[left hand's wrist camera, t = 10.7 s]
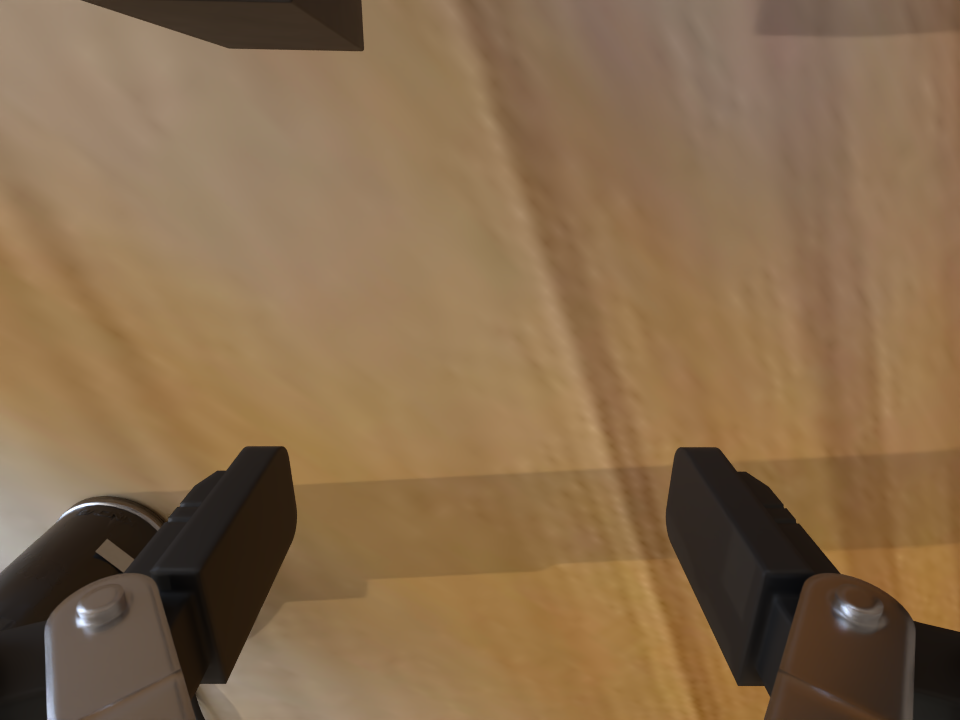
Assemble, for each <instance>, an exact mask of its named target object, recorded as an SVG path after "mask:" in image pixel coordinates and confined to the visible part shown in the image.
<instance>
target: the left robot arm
mask: <svg viewBox="0 0 960 720" xmlns="http://www.w3.org/2000/svg"><path fill="white" fill-rule="evenodd" d="M296 523H297V508H296V501H295V495H294V488H293V481H292V475H291V468H290V461H289V456H288V452H287V450H286V448H285V447H283V446H247V447H245V448H244V449H243V450H242V451H241V452H240V453H239V455H238V456H237V457H236V459H235V460H234V461H233V463H232V464H231V465H230V467H229V468H228V469H227V470H226V471H216V472H215V473H213V474H212V475H210V476H209V477H207V478H206V479H204V480H203V481H201V482H200V483H198V484H197V485H195V486H194V487H193V489H192V490H191V491H190V492H189V493H188V495H187V496H186V497H185V498H184V500H183V501H182V502H181V503H180V507H177V508H176V509H175V511H174V512H173V513H172V514H171V515H170V517H169V518H168V522H164V521H163V520H162V519H161V518H160V517H158V516H157V515H156V514H155V513H153V512H152V511H151V510H149V509H147V508H146V507H144V506H142V505H140V504H138V503H135V502H133V501H130V500H127V499H123V498H118V497H110V496H101V497H92V498H88V499H85V500H82V501H80V502H78V503H76V504H75V505H73V506H72V507H71V508H70V509H69V510H68V511H66V512H65V513H64V514H63V515H62V516H61V517H60V518H59V519H58V521H57V522H56V523H55V524H54V525H53V526H52V527H51V528H50V529H49V530H48V531H47V532H45V533H44V534H43V535H42V536H41V537H40V538H39V539H37V540H36V541H35V542H34V543H33V544H32V545H31V546H30V547H28V548H27V549H26V550H25V551H24V552H23V553H22V554H21V555H20V556H19V557H17V558H16V559H15V560H14V561H13V562H12V563H11V564H10V565H9V566H7V567H6V568H5V569H4V570H3V571H2V572H1V573H0V720H205V719H204V717H203V714H202V712H201V710H200V707H199V704H198V701H197V698H196V695H195V692H196V690H197V688H198V686H199V685H200V684H226V683H227V681H228V678H229V676H230V674H231V672H232V670H233V668H234V666H235V663H236V661H237V659H238V657H239V655H240V653H241V650H242V648H243V646H244V644H245V642H246V640H247V638H248V635H249V633H250V631H251V629H252V627H253V625H254V622H255V620H256V618H257V616H258V614H259V612H260V610H261V607H262V605H263V603H264V601H265V599H266V597H267V595H268V592H269V590H270V588H271V586H272V584H273V582H274V579H275V577H276V575H277V573H278V571H279V569H280V567H281V564H282V562H283V560H284V558H285V556H286V554H287V552H288V549H289V547H290V545H291V543H292V541H293V538H294V535H295V530H296ZM666 526H667V532H668V536H669V540H670V542H671V544H672V547H673V549H674V551H675V553H676V555H677V557H678V559H679V561H680V564H681V566H682V568H683V570H684V572H685V574H686V576H687V578H688V580H689V583H690V585H691V587H692V589H693V591H694V593H695V595H696V597H697V600H698V602H699V604H700V606H701V608H702V610H703V612H704V614H705V617H706V619H707V621H708V623H709V625H710V627H711V629H712V631H713V634H714V636H715V638H716V640H717V642H718V644H719V646H720V648H721V651H722V653H723V655H724V657H725V659H726V661H727V663H728V665H729V668H730V670H731V672H732V674H733V676H734V678H735V680H736V682H737V685H738V686H765V688H766V690H767V692H768V694H769V696H770V701H769V704H768V707H767V711H766V714H765V718H764V720H960V632H958V631H953V630H949V629H945V628H940V627H936V626H932V625H928V624H923V623H919V622H916V621H913V620H912V618H911V616H910V615H909V613H908V612H907V611H906V610H905V608H904V607H903V606H902V605H901V604H900V603H899V602H898V601H896V600H895V599H894V598H893V597H891V596H890V595H889V594H887V593H886V592H884V591H883V590H881V589H880V588H878V587H876V586H874V585H872V584H870V583H868V582H865V581H863V580H861V579H858V578H855V577H851V576H847V575H843V574H840V573H839V571H838V570H837V569H836V568H835V566H834V565H833V564H832V563H831V562H830V560H829V559H828V558H827V557H826V556H825V554H824V553H823V552H822V551H821V550H820V548H819V547H818V546H817V545H816V544H815V542H814V541H813V540H812V539H811V537H810V536H809V535H808V534H807V533H806V531H805V530H804V529H803V528H802V527H801V525H800V524H796V519H795V518H794V517H793V516H792V514H791V513H790V512H789V511H788V510H787V508H784V507H783V504H782V502H781V501H780V500H779V499H778V498H777V496H776V495H775V494H774V493H773V491H772V490H771V489H770V488H769V487H768V486H767V485H765V484H764V483H762V482H761V481H759V480H757V479H756V478H754V477H753V476H751V475H750V474H748V473H747V472H737V471H736V470H735V468H734V467H733V466H732V464H731V463H730V462H729V461H728V459H727V458H726V457H725V455H724V454H723V453H722V451H721V450H720V449H718V448H716V447H680V448H678V449H677V451H676V453H675V456H674V462H673V468H672V475H671V481H670V488H669V495H668V501H667V508H666Z"/></svg>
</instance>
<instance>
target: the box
mask: <svg viewBox="0 0 960 720" xmlns="http://www.w3.org/2000/svg"><path fill="white" fill-rule="evenodd" d="M82 1H85V2H88V3H91V4H94V5H98V6H101V7H104V8H107V9H110V10H113V11H116V12H119V13H122V14H125V15H128V16H131V17H134V18H137V19H140V20H143V21H147V22H150V23H153V24H156V25H159V26H162V27H165V28H168V29H171V30H174V31H177V32H180V33H183V34H186V35H189V36H192V37H196V38H199V39H202V40H205V41H208V42H211V43H214V44H217V45H220V46H223V47H226V48H232V49H280V50H328V51H363V50H364V40H363V22H362V4H361V0H82Z"/></svg>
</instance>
